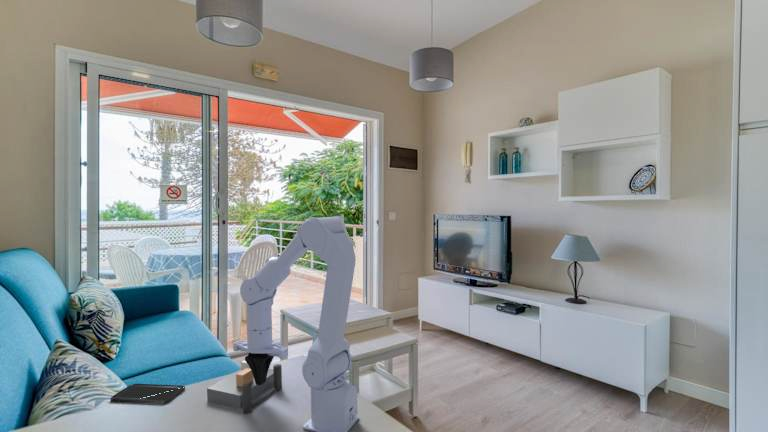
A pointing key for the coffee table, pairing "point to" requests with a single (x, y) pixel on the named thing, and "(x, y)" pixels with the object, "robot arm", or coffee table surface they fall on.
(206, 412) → the coffee table surface
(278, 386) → the dark grey post rail
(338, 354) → the robot arm
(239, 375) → the orange rectangular block
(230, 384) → the grey tray with posts
